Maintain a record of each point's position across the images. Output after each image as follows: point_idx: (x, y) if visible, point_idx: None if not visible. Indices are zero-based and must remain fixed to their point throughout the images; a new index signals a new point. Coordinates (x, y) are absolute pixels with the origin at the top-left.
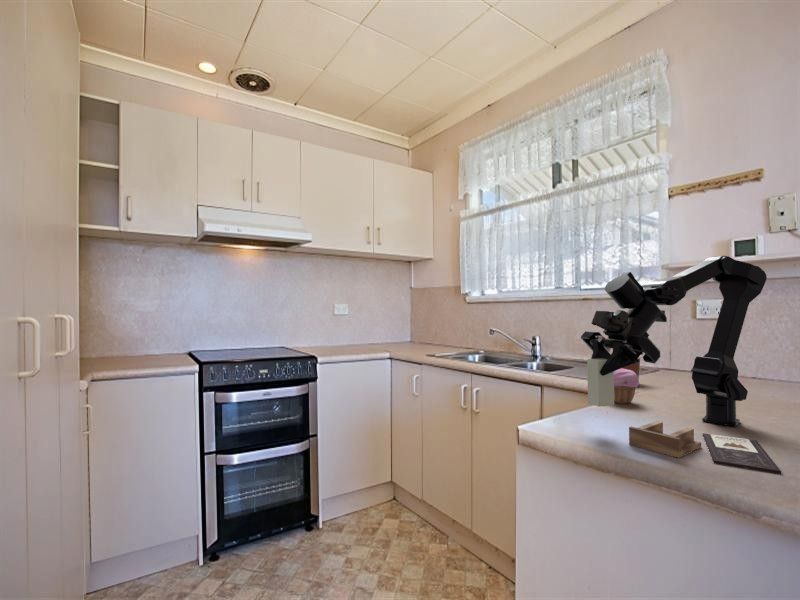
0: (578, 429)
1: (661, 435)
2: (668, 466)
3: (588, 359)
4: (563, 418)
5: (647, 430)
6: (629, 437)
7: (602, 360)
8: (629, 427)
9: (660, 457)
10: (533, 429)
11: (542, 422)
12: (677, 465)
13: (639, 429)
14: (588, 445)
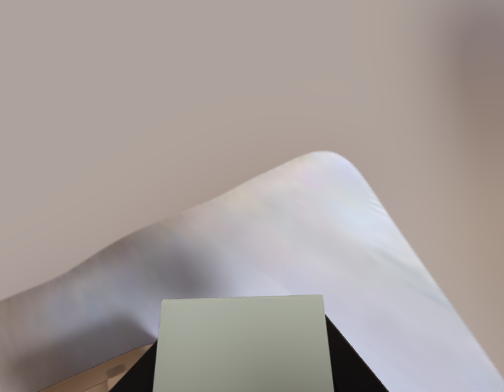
0: (305, 285)
1: (45, 389)
2: (28, 318)
3: (302, 295)
4: (429, 312)
5: (92, 384)
6: (151, 344)
7: (182, 387)
8: (138, 348)
9: (67, 348)
10: (321, 168)
11: (383, 219)
12: (21, 345)
13: (110, 364)
14: (186, 230)
